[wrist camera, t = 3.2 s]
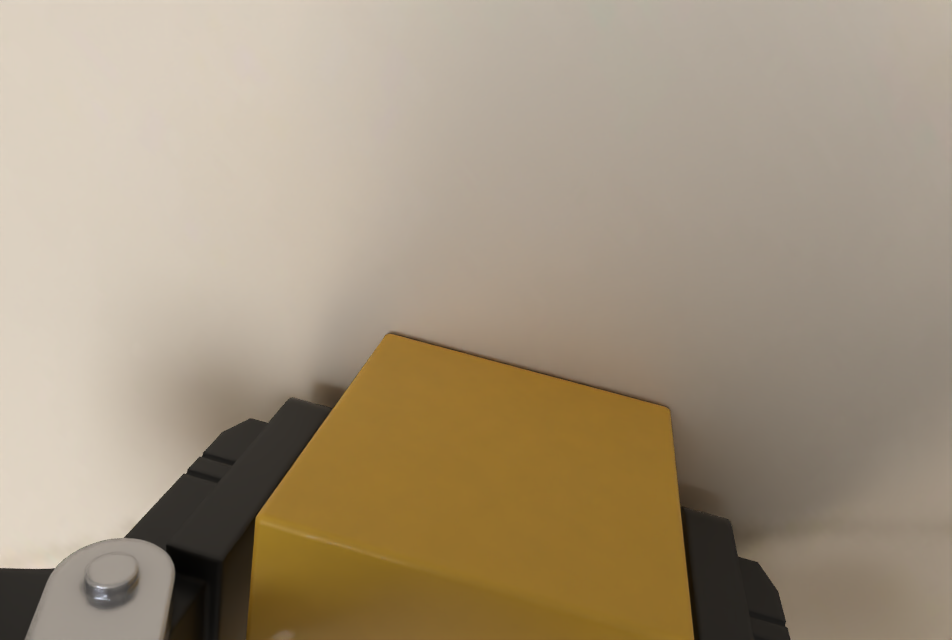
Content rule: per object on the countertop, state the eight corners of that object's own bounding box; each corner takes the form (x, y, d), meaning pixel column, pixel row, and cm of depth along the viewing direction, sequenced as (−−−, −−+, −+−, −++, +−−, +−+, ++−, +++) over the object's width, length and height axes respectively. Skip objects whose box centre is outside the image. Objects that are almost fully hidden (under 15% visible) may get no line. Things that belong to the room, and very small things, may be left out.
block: (672, 406, 11) (698, 648, 7) (594, 617, 13) (578, 903, 9) (386, 329, 11) (251, 515, 7) (351, 546, 13) (231, 787, 9)
